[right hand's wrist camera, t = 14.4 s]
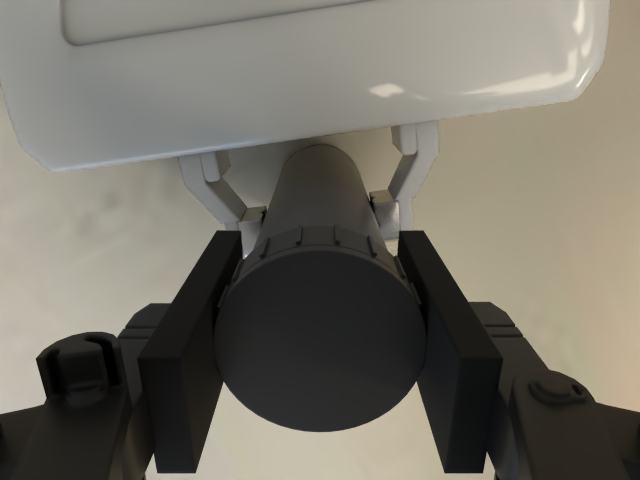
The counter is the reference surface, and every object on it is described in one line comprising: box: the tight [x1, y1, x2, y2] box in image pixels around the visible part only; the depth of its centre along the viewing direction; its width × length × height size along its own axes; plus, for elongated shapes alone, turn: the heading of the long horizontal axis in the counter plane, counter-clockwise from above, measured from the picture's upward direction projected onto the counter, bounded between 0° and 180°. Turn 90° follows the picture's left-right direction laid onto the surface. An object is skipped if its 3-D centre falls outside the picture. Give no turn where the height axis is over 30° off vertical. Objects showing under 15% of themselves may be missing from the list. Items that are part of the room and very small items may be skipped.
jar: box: [253, 145, 387, 250], centre depth 18 cm, size 4×4×15 cm
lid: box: [213, 224, 427, 432], centre depth 11 cm, size 5×5×2 cm
